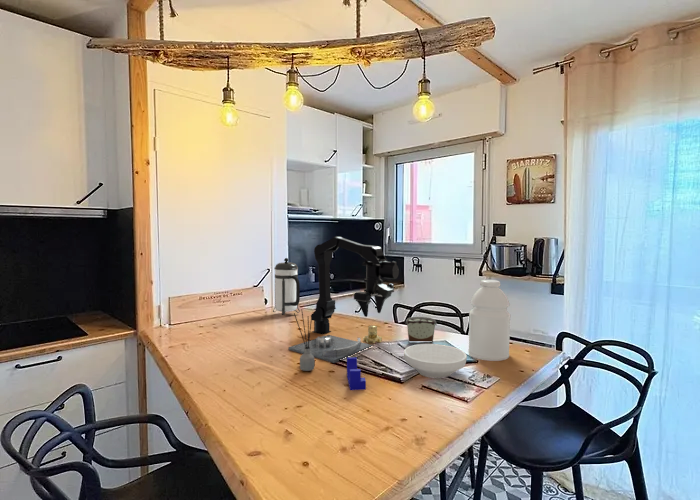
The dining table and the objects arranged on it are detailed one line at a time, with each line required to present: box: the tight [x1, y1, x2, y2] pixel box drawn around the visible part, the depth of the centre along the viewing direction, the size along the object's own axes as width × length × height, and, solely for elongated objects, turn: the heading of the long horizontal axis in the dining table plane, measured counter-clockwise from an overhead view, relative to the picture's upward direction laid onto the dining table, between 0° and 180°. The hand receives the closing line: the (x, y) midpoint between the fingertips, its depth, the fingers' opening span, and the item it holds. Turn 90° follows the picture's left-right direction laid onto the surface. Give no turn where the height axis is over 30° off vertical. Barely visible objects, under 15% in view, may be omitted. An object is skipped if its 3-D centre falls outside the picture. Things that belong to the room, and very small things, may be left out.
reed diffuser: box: [293, 308, 316, 372], centre depth 128 cm, size 10×7×20 cm
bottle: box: [467, 279, 511, 362], centre depth 142 cm, size 14×14×28 cm
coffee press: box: [272, 257, 301, 316], centre depth 215 cm, size 17×16×30 cm
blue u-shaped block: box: [346, 356, 367, 391], centre depth 118 cm, size 12×4×6 cm, turn 5°
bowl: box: [403, 343, 468, 379], centre depth 125 cm, size 20×20×7 cm
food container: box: [405, 316, 438, 343], centre depth 161 cm, size 12×6×10 cm, turn 84°
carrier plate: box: [288, 334, 374, 364], centre depth 152 cm, size 23×23×4 cm
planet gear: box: [362, 324, 383, 344], centre depth 162 cm, size 8×8×6 cm
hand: (372, 314), depth 162 cm, fingers open, 9 cm apart
